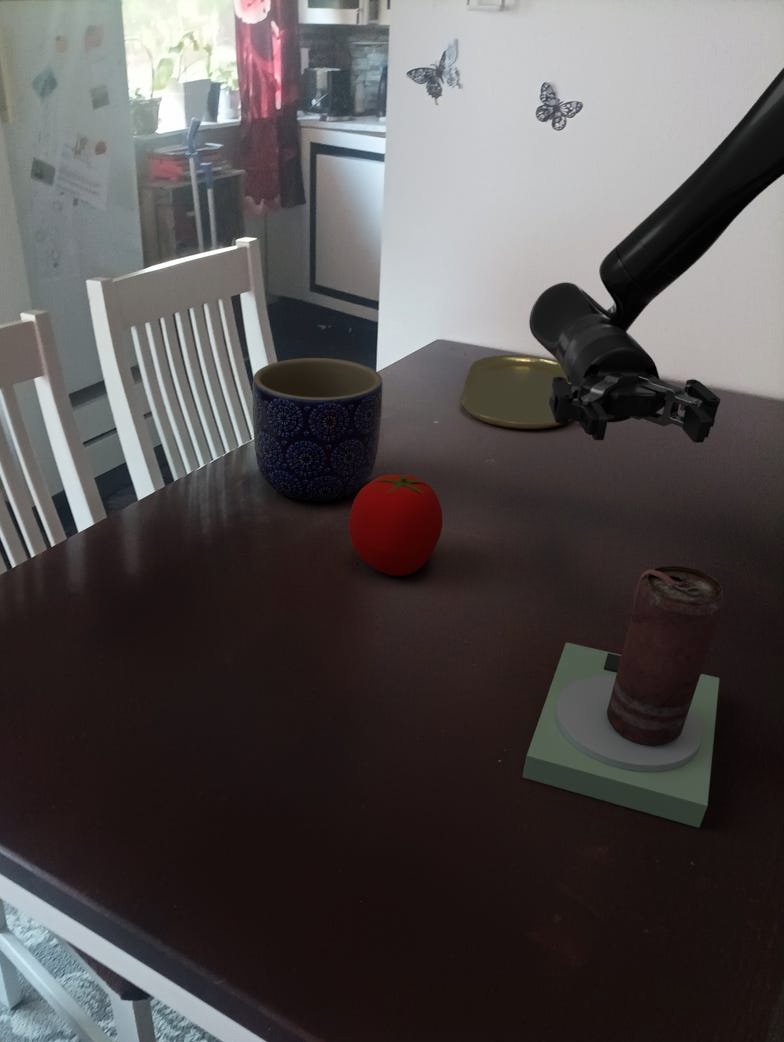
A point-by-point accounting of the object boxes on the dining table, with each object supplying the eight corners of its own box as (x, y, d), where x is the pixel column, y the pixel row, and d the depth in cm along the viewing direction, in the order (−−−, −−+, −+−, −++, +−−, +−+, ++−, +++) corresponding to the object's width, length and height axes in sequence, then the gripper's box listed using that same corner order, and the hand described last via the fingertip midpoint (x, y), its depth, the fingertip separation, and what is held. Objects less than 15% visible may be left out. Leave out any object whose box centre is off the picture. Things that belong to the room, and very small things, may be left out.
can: (611, 693, 79) (648, 554, 71) (686, 716, 77) (733, 574, 69) (594, 732, 75) (631, 588, 67) (673, 757, 72) (721, 611, 65)
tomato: (358, 591, 99) (363, 502, 93) (340, 546, 108) (343, 462, 102) (450, 584, 101) (460, 496, 95) (425, 540, 109) (433, 457, 103)
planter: (330, 452, 131) (334, 350, 123) (401, 494, 120) (410, 384, 112) (232, 477, 124) (228, 370, 115) (297, 524, 112) (298, 408, 104)
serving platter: (454, 426, 140) (455, 416, 140) (473, 359, 168) (474, 351, 168) (577, 438, 137) (579, 428, 136) (576, 368, 165) (578, 359, 164)
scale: (561, 662, 89) (567, 635, 87) (712, 699, 84) (722, 670, 82) (522, 777, 75) (528, 747, 73) (699, 828, 71) (710, 798, 69)
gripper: (542, 332, 89) (576, 386, 75) (688, 334, 88) (748, 389, 75) (531, 406, 93) (561, 469, 80) (670, 409, 92) (724, 473, 79)
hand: (652, 430), depth 77 cm, fingers open, 8 cm apart
